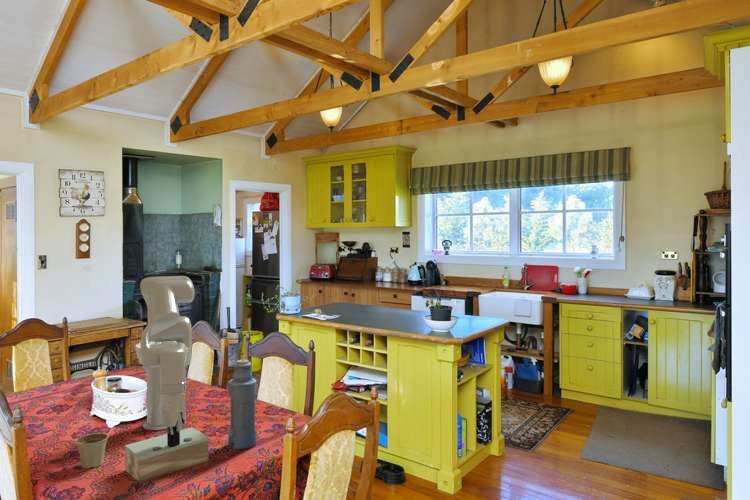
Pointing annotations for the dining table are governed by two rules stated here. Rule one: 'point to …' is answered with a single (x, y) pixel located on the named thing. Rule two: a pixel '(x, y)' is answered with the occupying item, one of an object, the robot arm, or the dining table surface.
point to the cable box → (166, 462)
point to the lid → (164, 444)
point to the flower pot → (92, 449)
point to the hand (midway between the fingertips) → (173, 445)
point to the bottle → (242, 407)
